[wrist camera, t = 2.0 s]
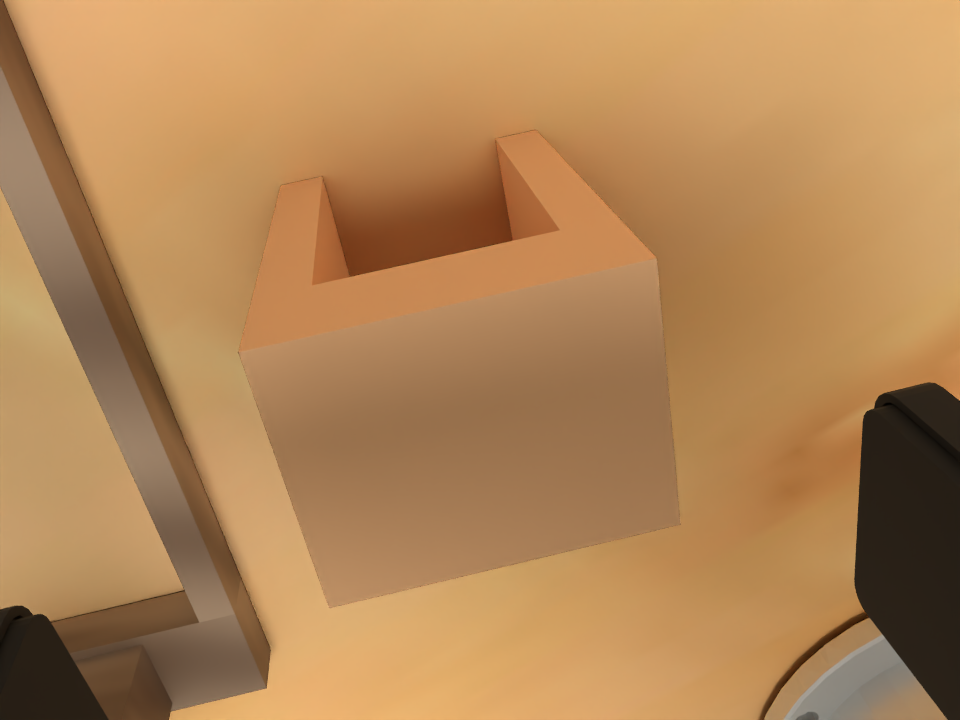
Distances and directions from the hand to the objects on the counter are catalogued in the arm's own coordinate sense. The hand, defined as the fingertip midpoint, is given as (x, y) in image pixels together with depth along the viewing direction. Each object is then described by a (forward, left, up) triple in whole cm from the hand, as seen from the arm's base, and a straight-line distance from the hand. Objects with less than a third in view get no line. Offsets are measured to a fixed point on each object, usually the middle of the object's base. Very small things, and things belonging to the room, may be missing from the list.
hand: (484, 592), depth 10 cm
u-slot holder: (-1, 0, -13) cm, 13 cm away
